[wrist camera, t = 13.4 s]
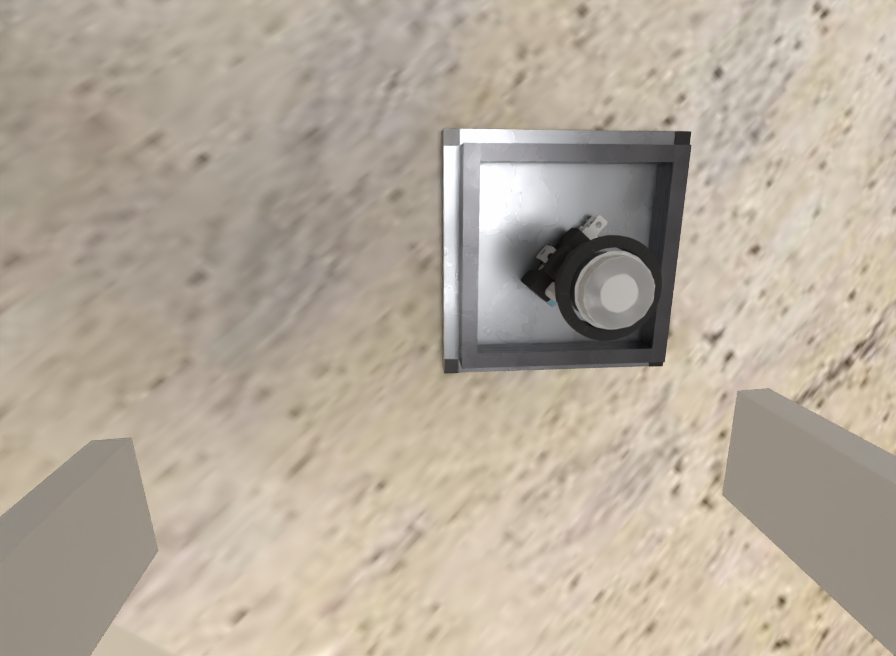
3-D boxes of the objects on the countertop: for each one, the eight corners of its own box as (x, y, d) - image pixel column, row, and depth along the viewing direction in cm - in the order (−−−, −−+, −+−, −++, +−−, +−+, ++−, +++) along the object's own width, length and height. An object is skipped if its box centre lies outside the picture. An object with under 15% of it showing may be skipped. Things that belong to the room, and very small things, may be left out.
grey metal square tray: (442, 131, 31) (446, 124, 28) (680, 134, 33) (709, 127, 30) (442, 366, 35) (446, 383, 32) (653, 360, 37) (676, 375, 34)
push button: (567, 191, 32) (639, 189, 22) (622, 243, 33) (714, 263, 23) (500, 270, 33) (542, 302, 23) (557, 318, 34) (619, 367, 24)
